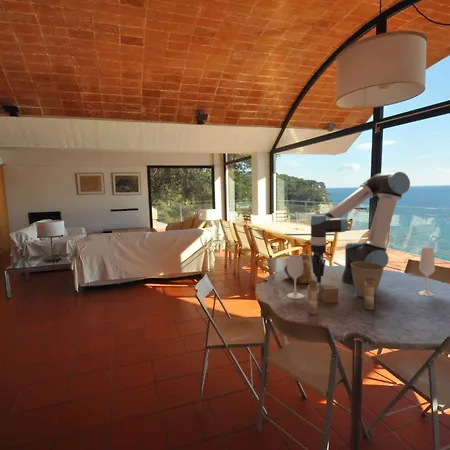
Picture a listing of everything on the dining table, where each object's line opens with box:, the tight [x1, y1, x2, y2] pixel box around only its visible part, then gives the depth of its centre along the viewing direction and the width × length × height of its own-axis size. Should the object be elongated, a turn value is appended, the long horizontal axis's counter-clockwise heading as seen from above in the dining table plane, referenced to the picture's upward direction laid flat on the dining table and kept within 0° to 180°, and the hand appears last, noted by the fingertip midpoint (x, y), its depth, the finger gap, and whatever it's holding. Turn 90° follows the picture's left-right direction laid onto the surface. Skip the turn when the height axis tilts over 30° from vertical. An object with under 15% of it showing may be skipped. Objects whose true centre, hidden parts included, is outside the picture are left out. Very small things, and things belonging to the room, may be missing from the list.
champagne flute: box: [417, 246, 436, 297], centre depth 152 cm, size 7×7×24 cm
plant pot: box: [351, 262, 385, 298], centre depth 152 cm, size 15×15×16 cm
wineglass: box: [286, 255, 305, 300], centre depth 154 cm, size 9×9×21 cm
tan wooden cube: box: [317, 283, 339, 304], centre depth 148 cm, size 7×7×7 cm
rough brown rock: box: [283, 253, 313, 284], centre depth 184 cm, size 23×17×15 cm
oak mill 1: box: [307, 279, 318, 315], centre depth 133 cm, size 4×4×15 cm
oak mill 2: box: [363, 276, 375, 311], centre depth 136 cm, size 4×4×15 cm
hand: (317, 287), depth 160 cm, fingers closed
